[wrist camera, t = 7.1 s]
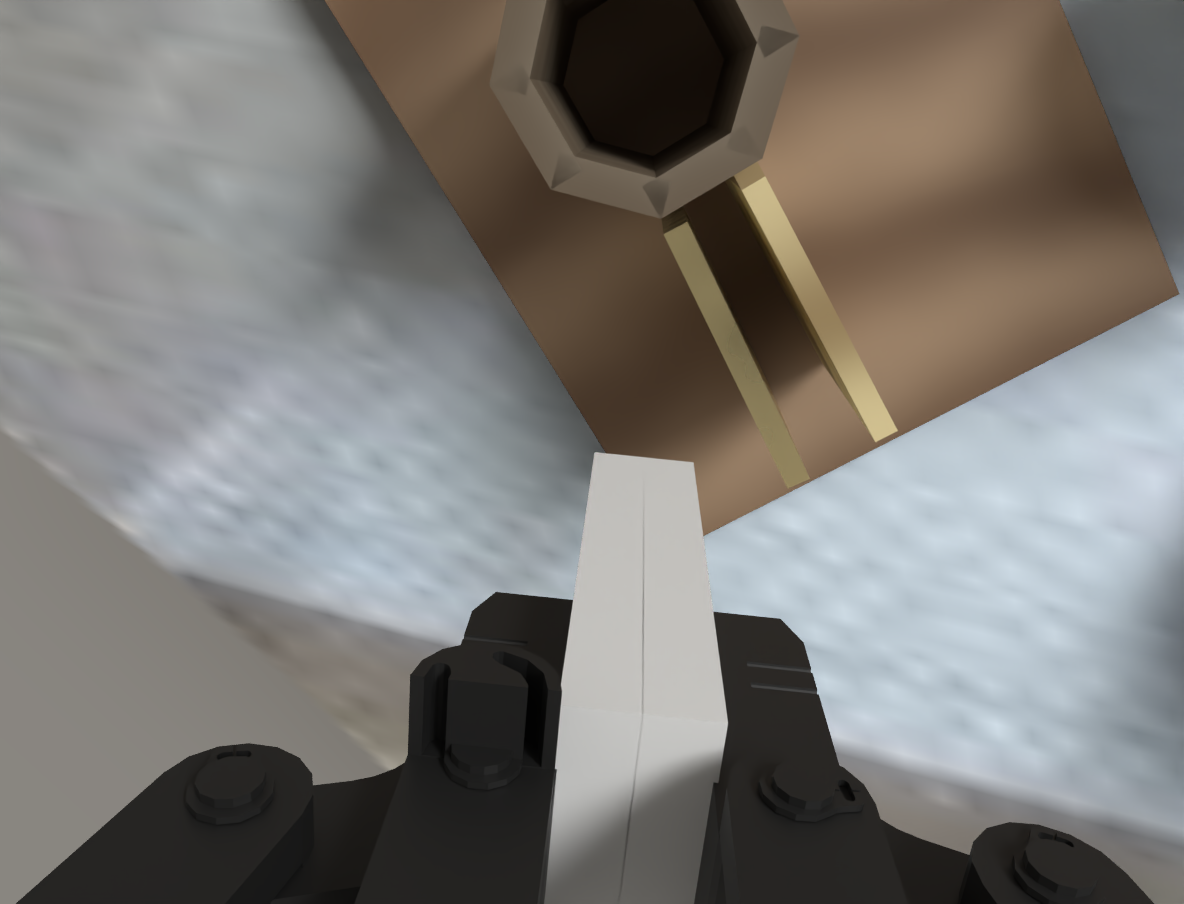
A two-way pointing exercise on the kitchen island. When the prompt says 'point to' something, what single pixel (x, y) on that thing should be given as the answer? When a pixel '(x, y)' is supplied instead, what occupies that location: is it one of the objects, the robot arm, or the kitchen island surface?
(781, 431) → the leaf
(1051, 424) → the kitchen island surface
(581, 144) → the jig
